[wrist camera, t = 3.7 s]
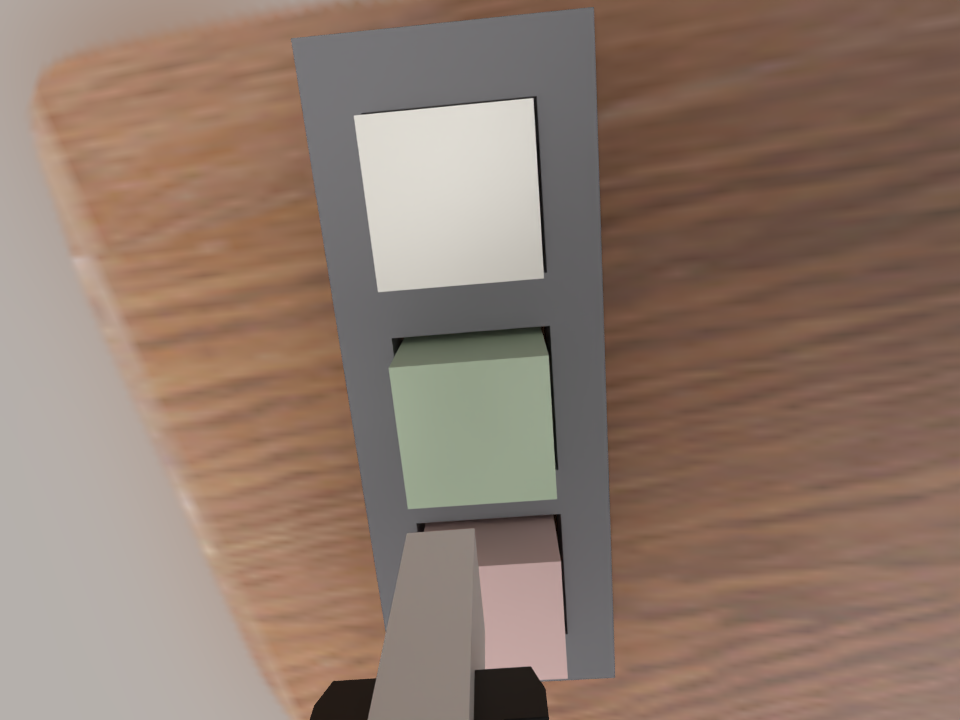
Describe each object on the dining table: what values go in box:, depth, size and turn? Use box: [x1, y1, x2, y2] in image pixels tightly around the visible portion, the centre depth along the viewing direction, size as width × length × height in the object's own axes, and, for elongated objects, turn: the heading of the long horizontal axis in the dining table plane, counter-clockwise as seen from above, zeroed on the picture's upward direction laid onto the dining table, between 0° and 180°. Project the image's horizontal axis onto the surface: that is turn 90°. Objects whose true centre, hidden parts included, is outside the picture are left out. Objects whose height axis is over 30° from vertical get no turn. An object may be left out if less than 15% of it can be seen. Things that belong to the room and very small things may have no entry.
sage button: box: [389, 326, 557, 509], centre depth 24 cm, size 5×5×4 cm
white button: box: [354, 98, 544, 292], centre depth 22 cm, size 5×5×4 cm
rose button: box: [424, 514, 568, 680], centre depth 26 cm, size 5×5×4 cm
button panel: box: [291, 7, 615, 682], centre depth 26 cm, size 27×10×3 cm, turn 5°
